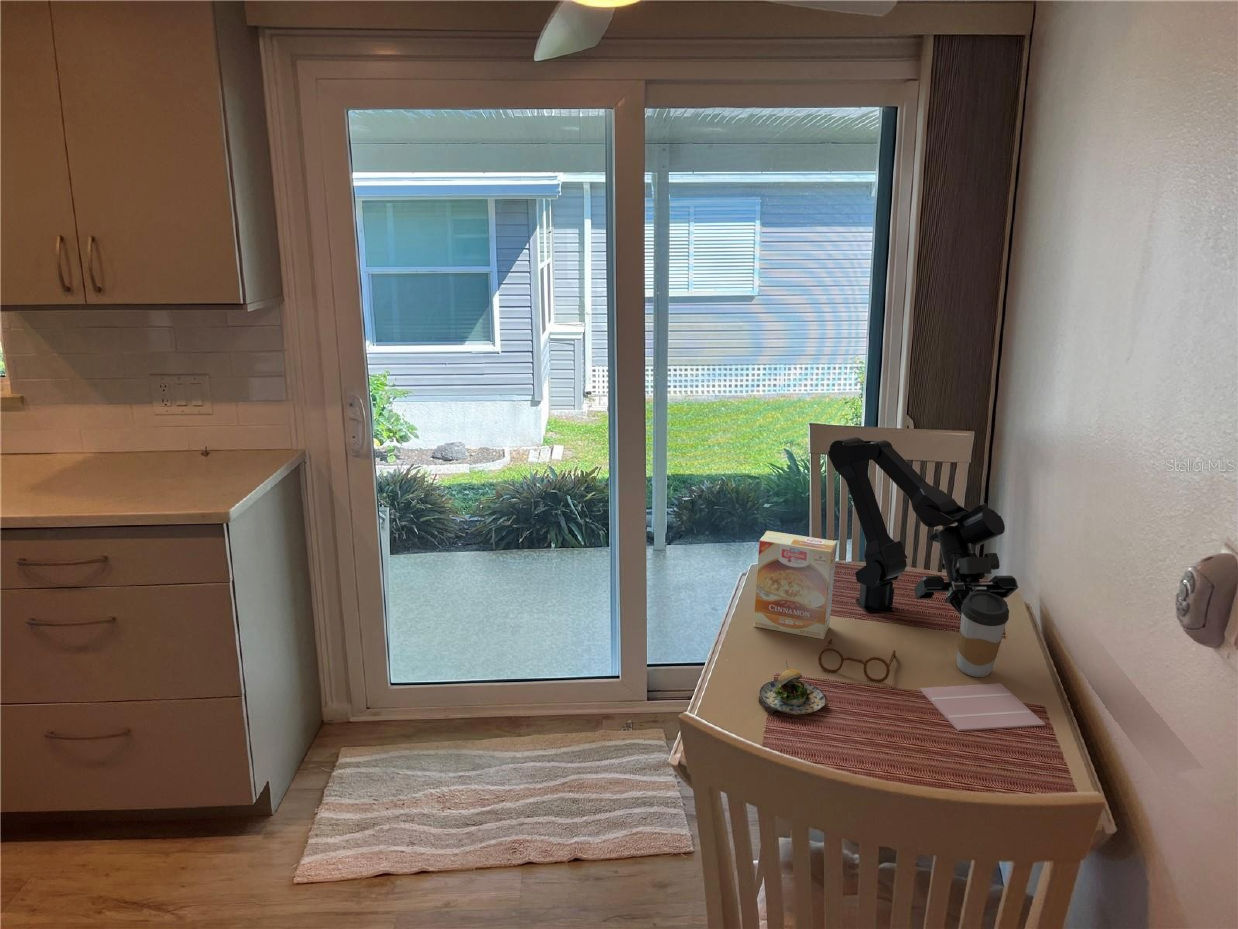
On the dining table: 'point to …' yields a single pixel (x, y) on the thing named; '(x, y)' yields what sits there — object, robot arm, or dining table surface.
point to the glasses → (855, 661)
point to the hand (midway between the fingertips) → (975, 629)
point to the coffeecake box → (794, 584)
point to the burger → (791, 695)
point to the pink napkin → (981, 707)
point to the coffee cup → (981, 632)
